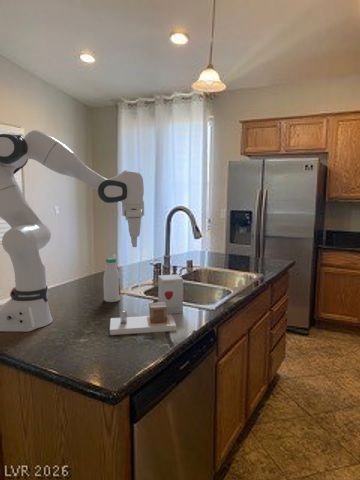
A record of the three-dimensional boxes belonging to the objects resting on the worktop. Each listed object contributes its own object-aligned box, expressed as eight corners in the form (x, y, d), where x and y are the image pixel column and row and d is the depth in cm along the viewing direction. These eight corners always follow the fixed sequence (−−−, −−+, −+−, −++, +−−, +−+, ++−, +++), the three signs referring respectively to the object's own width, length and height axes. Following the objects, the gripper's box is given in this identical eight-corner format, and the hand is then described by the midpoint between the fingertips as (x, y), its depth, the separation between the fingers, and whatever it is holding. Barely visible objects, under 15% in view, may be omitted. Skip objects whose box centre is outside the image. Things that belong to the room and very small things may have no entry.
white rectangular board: (109, 335, 132) (109, 329, 132) (110, 323, 144) (110, 318, 144) (176, 330, 136) (176, 325, 136) (171, 319, 148) (171, 314, 148)
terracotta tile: (148, 325, 136) (148, 324, 136) (146, 317, 144) (146, 317, 144) (169, 323, 138) (169, 323, 137) (167, 316, 145) (167, 315, 145)
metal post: (120, 324, 137) (120, 312, 137) (120, 321, 140) (120, 310, 139) (127, 323, 138) (126, 312, 137) (126, 321, 140) (126, 310, 139)
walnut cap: (166, 322, 138) (166, 306, 137) (150, 323, 137) (150, 307, 137) (164, 316, 144) (164, 302, 143) (149, 317, 143) (149, 302, 142)
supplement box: (162, 315, 153) (162, 280, 151) (157, 308, 161) (157, 275, 159) (183, 313, 155) (183, 278, 153) (178, 306, 164) (177, 273, 162)
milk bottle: (117, 303, 169) (115, 260, 167) (101, 302, 171) (99, 259, 168) (122, 298, 177) (121, 257, 174) (107, 297, 178) (106, 256, 176)
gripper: (125, 210, 159) (125, 241, 161) (125, 213, 139) (126, 249, 141) (139, 209, 160) (140, 241, 162) (142, 212, 140) (143, 248, 142)
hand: (134, 245), depth 151 cm, fingers open, 8 cm apart
